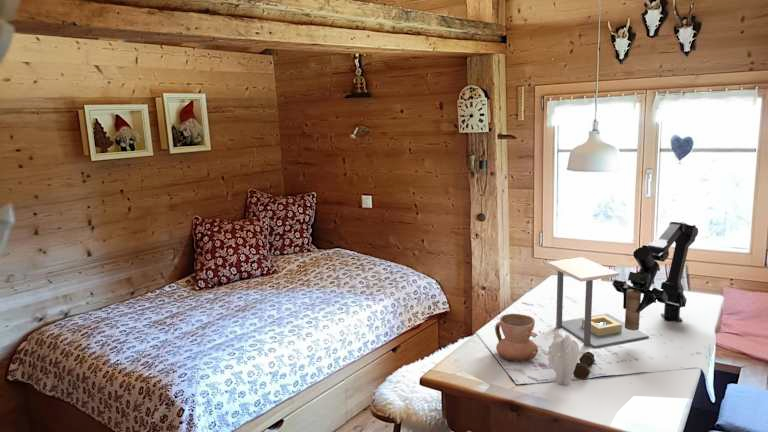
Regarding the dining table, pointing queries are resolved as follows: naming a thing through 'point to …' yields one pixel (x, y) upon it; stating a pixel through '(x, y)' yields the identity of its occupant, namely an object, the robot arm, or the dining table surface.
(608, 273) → the socket stand
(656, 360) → the dining table surface
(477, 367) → the dining table surface
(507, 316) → the ceramic jug
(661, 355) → the dining table surface
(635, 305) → the walnut peg
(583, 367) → the bolt
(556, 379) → the shell sculpture
